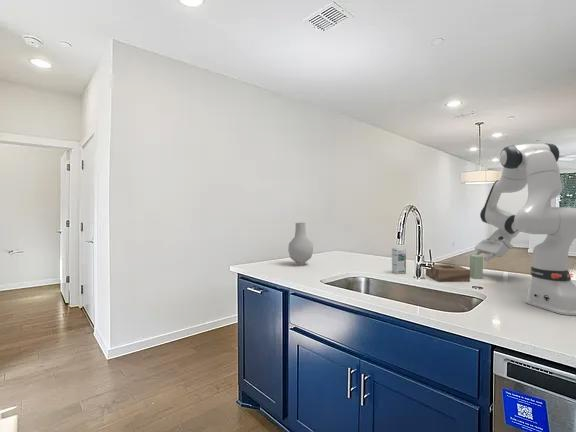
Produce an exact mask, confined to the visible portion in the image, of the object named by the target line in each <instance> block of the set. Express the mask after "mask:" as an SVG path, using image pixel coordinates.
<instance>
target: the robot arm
mask: <svg viewBox="0 0 576 432" xmlns="http://www.w3.org/2000/svg"><path fill="white" fill-rule="evenodd" d="M559 158H560V150H559V148H558V146H557V145H555V144H554V143H553V144H552V143H523V144H516V145H514V144H512V145H508V146H505V147H504V148H503V149H502V150H501V152H500V156H499V161H500V164H501V166H502V167H503V168H502V173H501V177H500V178H499V179H498V180H495V181H494V183H493V184H492V186H491V188H490V191H489V193H488V196H487V198H486V200H485V203H484V206H483V207H482V209H481V211H480V214H479V215H480V219H481V221H482V222H483V223H484V224H488V225H491V226H493V227H495V228H497V230H495V231H494V232H493V233H492V234H491V235H490V236H488V238H486V239H482V240H481V241H479V242H478V243H477V244H476V245H475V246H474V249H475V250H476V252H475V254H474V255H479V256H480V255H481V254H484V255H487V256H485V257H483V261H485V262H489V261H491V260H492V259H494V258H495V257H496V258H502V257H504V256H505V255H506V254H507V253H508V252H510V250H511V249H512V248H514V245H513V244H512V243H511V241H512V240H513V239H514V238H517V236H518V235H519V234H520V233H525V234H529V235H546V237H545V238H544V240H543V241H542V242H541V243H538V244H537V245H535V246H534V247H533V249H532V266H530V276H531V279H530V281H529V283H528V289H527V295H526V299H525V300H524V303H526V304H528V305H532V306H534V307H537V308H540V309H544V310H547V311H550V312H553V313H557V314H559V315H566V316H567V315H568V316H576V285H575V284H574V283H573V281H572V278H574V276H573V275H574V273H570V272H569V270H568V258H569V252H570V249H571V245H572V244H573V242H574V241H575V239H576V208H575V207H570V206H566V207H565V206H561V207H559V206H553V207H552V200H553V199H555V198H557V197H558V196H560V195H561V194H562V191H563V183H562V178H561V173H560V168H559V165H558V161H559ZM526 186H527V192H528V194H527V200H526V202H525V204H524V206H522V208H521V209H519V210H518V211H517V212H516V213H515V214H514V213H513V212H510V211H506V210H504V209H502V208H499V206H498V202H499V200H500V197H501V195H502V194H504V193H506V194H507V193H508V194H509V193H512V194H513V193H516V192H517V193H518V192H520V191H522V190H524V188H526Z"/></svg>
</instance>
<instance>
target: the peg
mask: <svg viewBox="0 0 576 432" xmlns="http://www.w3.org/2000/svg"><path fill="white" fill-rule="evenodd" d="M469 270H470V279H471V278H472V279H473V280H475V279H476V280H479V279H480V280H481V279H482V280H483V277H484V276H483V274H484V272H483V271H484V256H482V255H480V254H479V255H475V254H474V255H473V254H470V255H469Z"/></svg>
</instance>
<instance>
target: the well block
mask: <svg viewBox="0 0 576 432" xmlns="http://www.w3.org/2000/svg"><path fill="white" fill-rule="evenodd" d="M433 264H434V263H433ZM425 276H427V277H429V278H431V279H433V280H435V281H437V282H438V283H447V282H449V283H451V282H453V283H455V282H456V283H457V282H459V283H460V282H470V281H471V277H470V268H467V267H463V266H460V265H458V264H455V263H449V264H448V263H443V264H442V263H441V264H439V263H438V264H434V265H433V267H432V268H431V269H426V268H425Z"/></svg>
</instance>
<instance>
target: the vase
mask: <svg viewBox="0 0 576 432" xmlns="http://www.w3.org/2000/svg"><path fill="white" fill-rule="evenodd" d="M313 252H314V244H313V243H312V242H311V241H310V239H309V238H308V237H307V233H306V222H295V233H294V237H293V238H292V239H291V241H289V242H288V255H289V258H290V259H291V260H293V261H294V262H295V265H297V266H306V263H307V262H308V261H309V260H311V259H312V257H313Z"/></svg>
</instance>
